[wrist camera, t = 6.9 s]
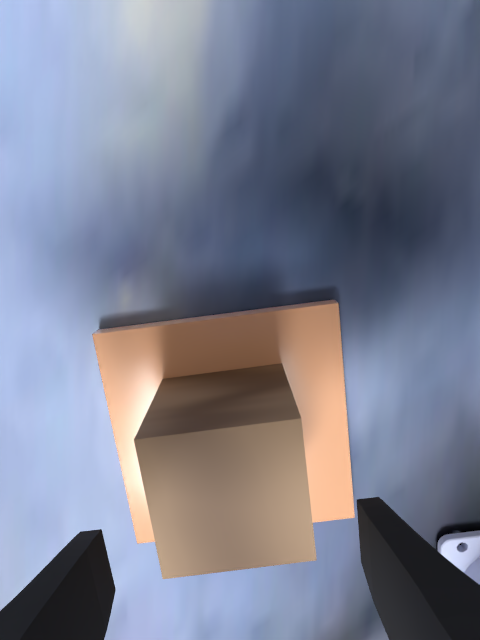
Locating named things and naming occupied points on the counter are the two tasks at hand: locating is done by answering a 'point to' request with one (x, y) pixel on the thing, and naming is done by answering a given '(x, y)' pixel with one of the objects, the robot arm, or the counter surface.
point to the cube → (226, 472)
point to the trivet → (228, 354)
